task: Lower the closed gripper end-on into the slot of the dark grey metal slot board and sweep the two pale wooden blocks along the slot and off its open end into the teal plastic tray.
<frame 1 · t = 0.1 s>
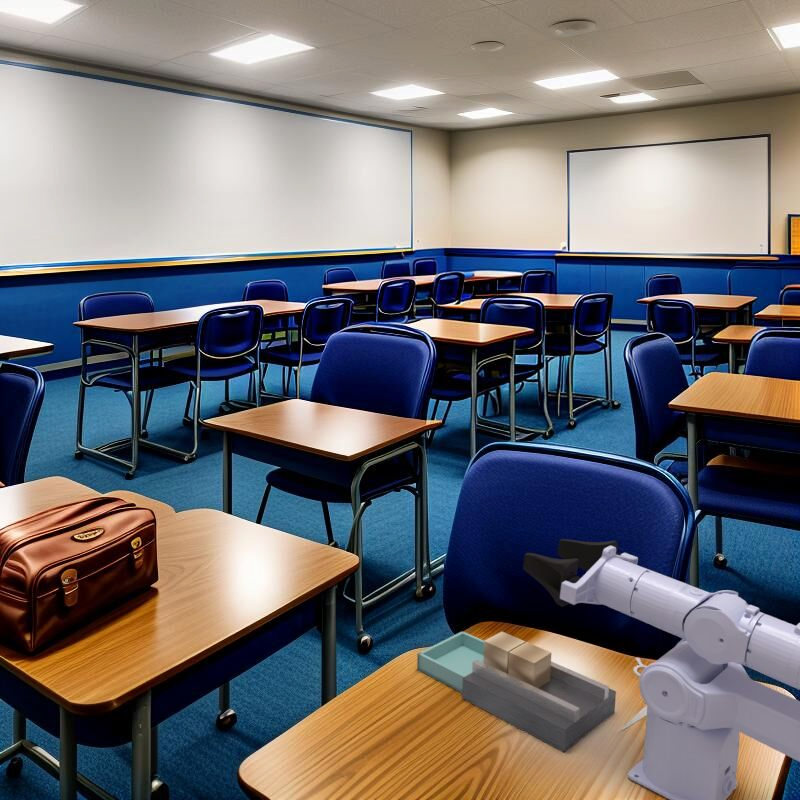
hand: (543, 553, 94), 22 cm above the table, tool horizontal, fingers open, 7 cm apart
block 1: (503, 668, 102), point 3 cm above the table, touching slot board
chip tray: (463, 669, 108), on the table
block 2: (528, 680, 99), point 3 cm above the table, touching slot board
scissors: (655, 705, 100), on the table
slot board: (537, 705, 99), on the table
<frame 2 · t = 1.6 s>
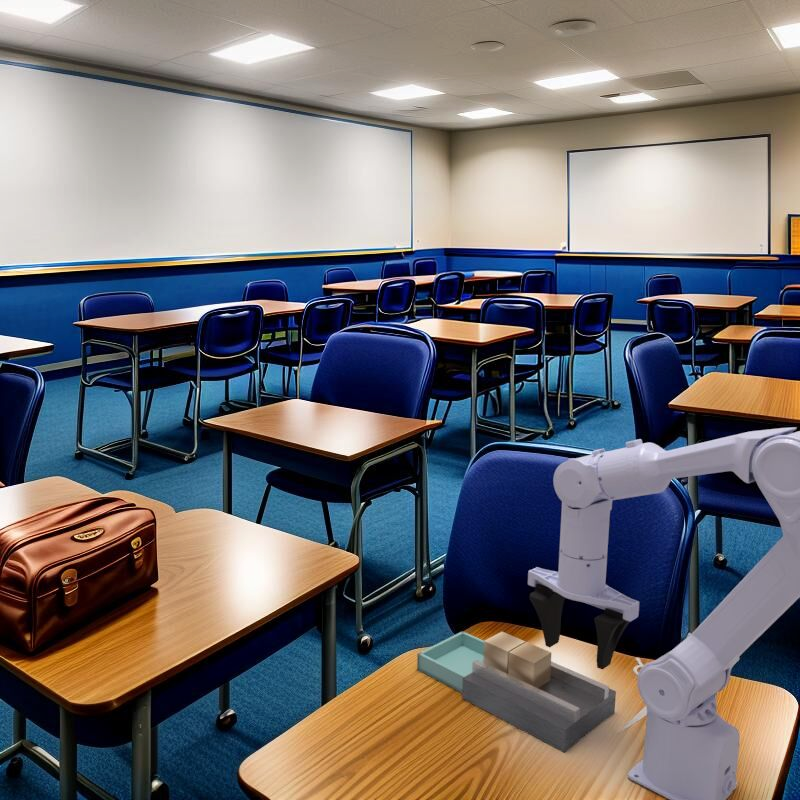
hand: (577, 654, 93), 9 cm above the table, tool pointing down, fingers open, 7 cm apart
nothing on the table moved.
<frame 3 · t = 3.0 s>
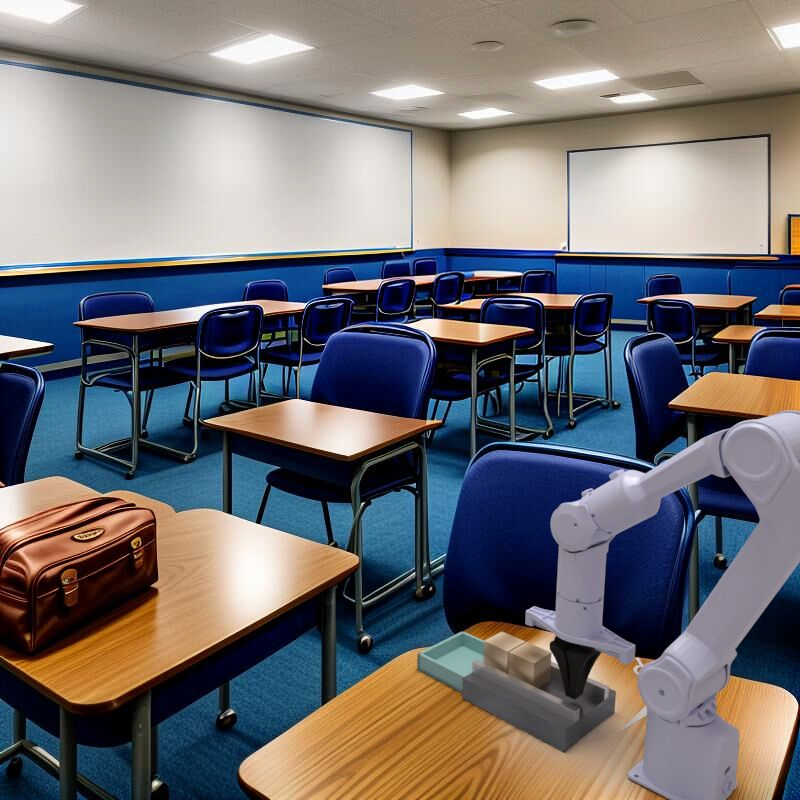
hand: (574, 694, 94), 4 cm above the table, tool pointing down, fingers closed
nothing on the table moved.
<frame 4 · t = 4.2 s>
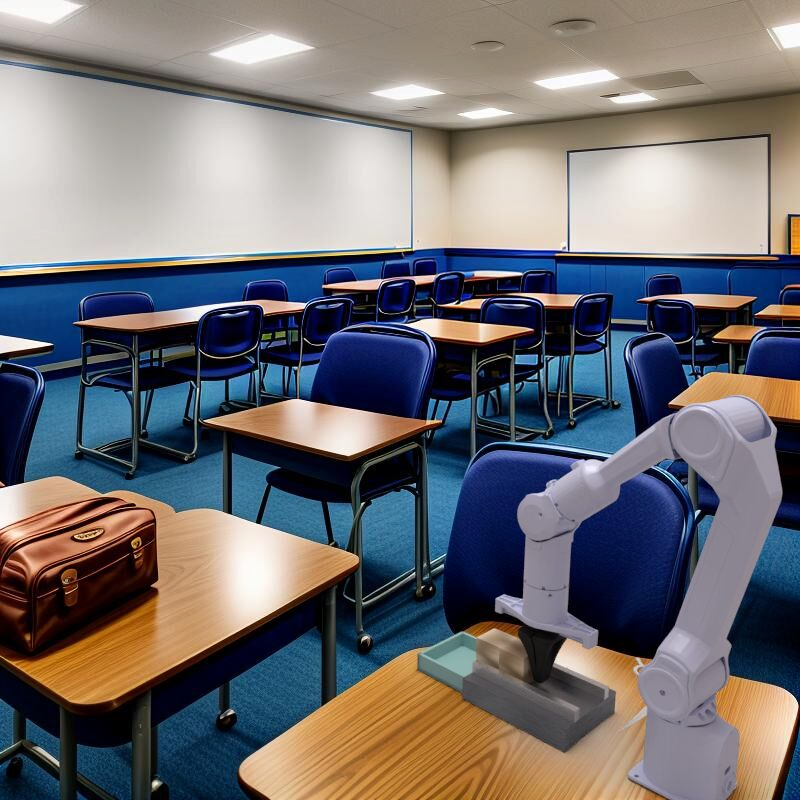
hand: (541, 679, 98), 4 cm above the table, tool pointing down, fingers closed
block 1: (496, 664, 103), point 3 cm above the table, touching block 2
block 2: (519, 675, 100), point 3 cm above the table, touching block 1, gripper, slot board
everything else where it was.
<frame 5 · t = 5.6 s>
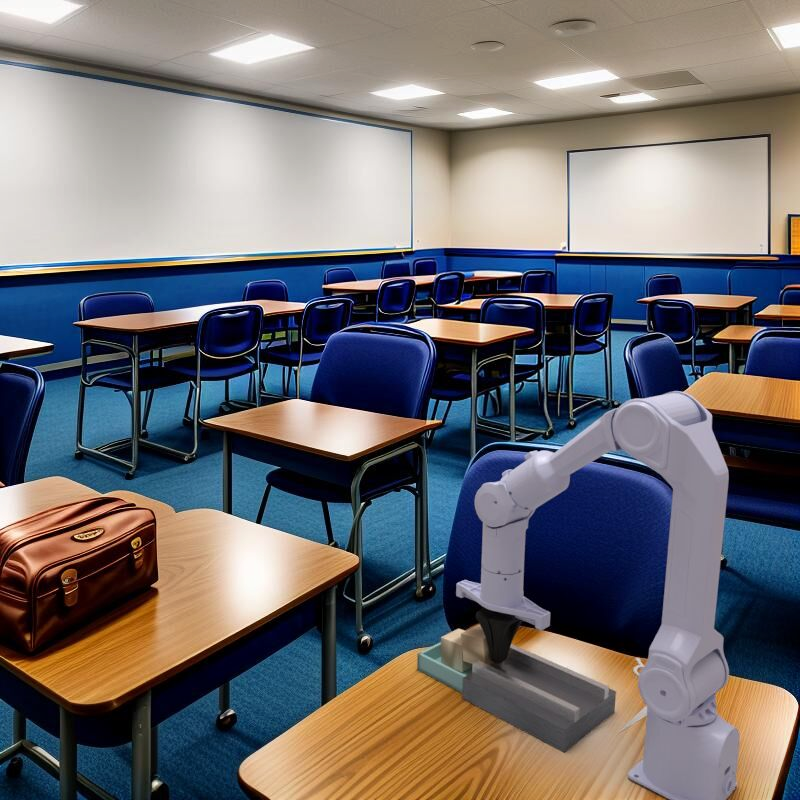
hand: (498, 659, 103), 4 cm above the table, tool pointing down, fingers closed
block 1: (471, 654, 106), point 3 cm above the table, tilted 93°, touching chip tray, block 2
block 2: (483, 659, 105), point 3 cm above the table, tilted 9°, touching block 1, gripper
everything else where it was.
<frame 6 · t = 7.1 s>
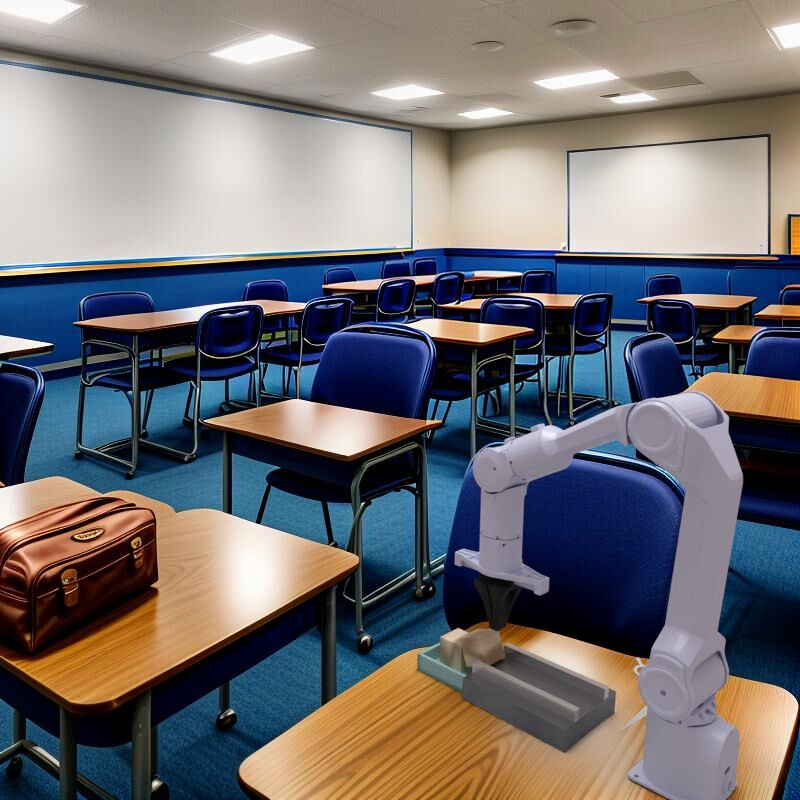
hand: (497, 627, 102), 9 cm above the table, tool pointing down, fingers closed
block 2: (485, 661, 105), point 3 cm above the table, tilted 22°, touching block 1, slot board
everything else where it was.
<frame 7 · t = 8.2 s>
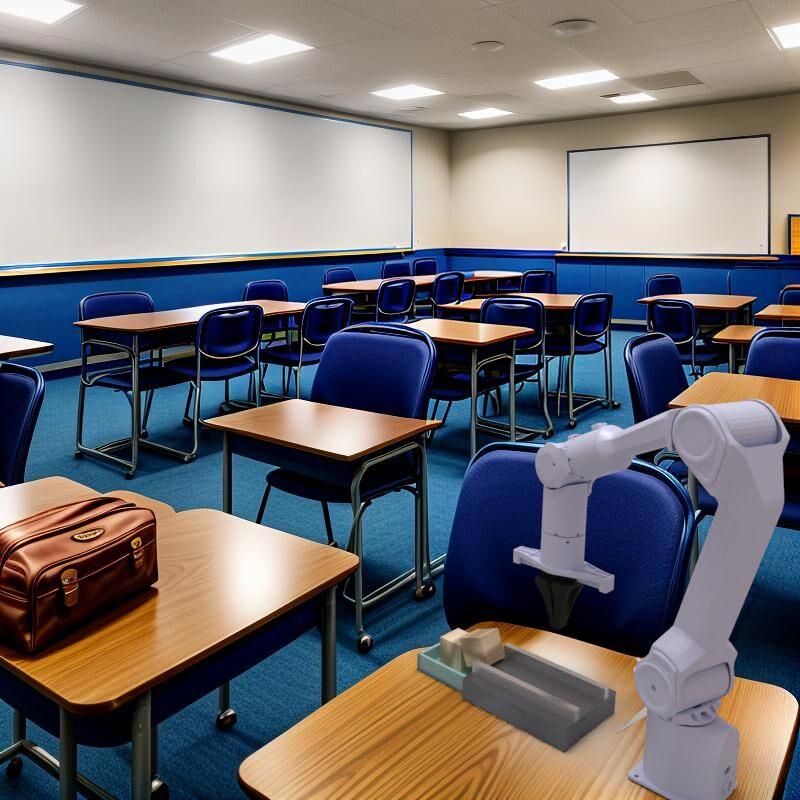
hand: (558, 625, 101), 9 cm above the table, tool pointing down, fingers closed
nothing on the table moved.
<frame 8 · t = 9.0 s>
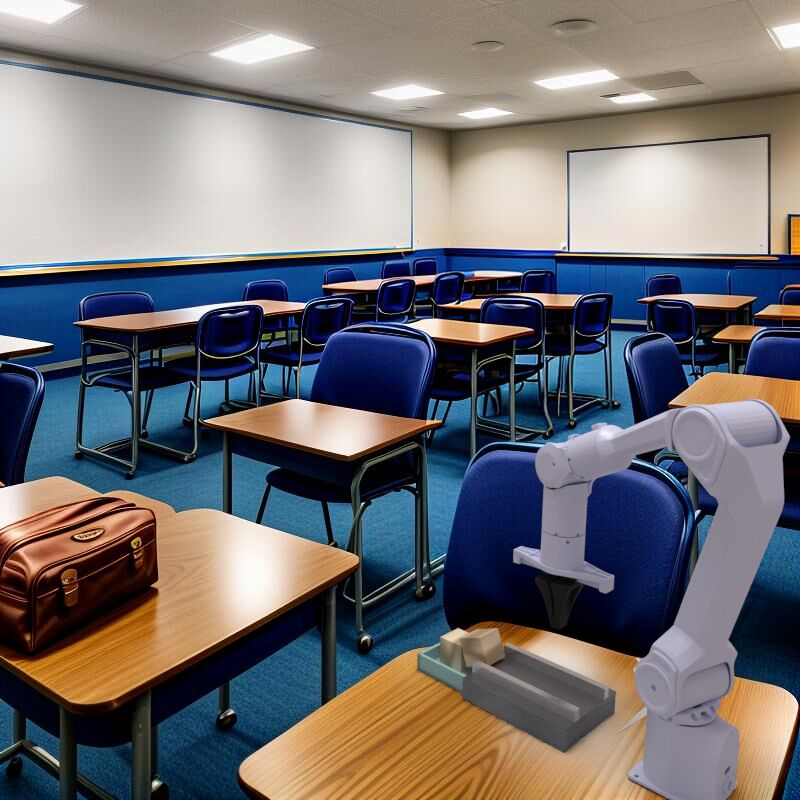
hand: (558, 625, 101), 9 cm above the table, tool pointing down, fingers closed
nothing on the table moved.
at the end: block 1 inside the target area on the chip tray (1.0 cm from its centre), point 2.5 cm above the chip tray's base; block 2 inside the target area on the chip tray (3.9 cm from its centre), point 2.6 cm above the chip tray's base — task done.
